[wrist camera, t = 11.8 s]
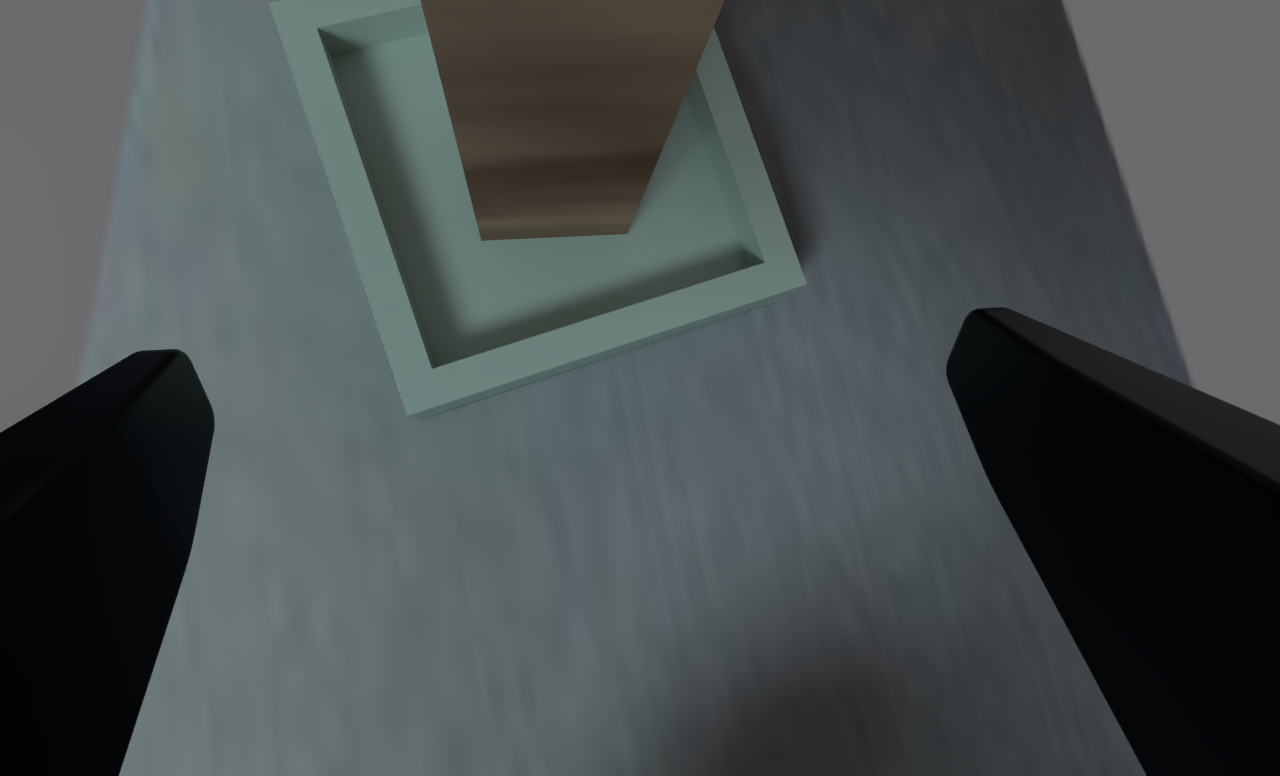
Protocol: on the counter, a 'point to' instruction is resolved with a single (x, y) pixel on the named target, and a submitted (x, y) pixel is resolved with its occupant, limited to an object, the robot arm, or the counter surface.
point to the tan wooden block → (563, 104)
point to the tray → (520, 268)
